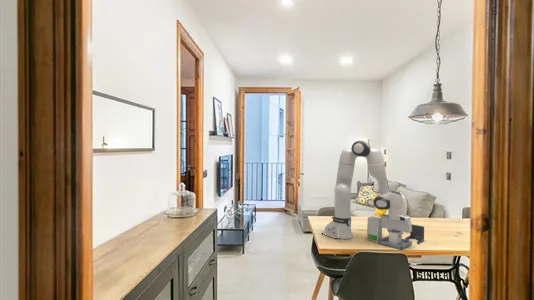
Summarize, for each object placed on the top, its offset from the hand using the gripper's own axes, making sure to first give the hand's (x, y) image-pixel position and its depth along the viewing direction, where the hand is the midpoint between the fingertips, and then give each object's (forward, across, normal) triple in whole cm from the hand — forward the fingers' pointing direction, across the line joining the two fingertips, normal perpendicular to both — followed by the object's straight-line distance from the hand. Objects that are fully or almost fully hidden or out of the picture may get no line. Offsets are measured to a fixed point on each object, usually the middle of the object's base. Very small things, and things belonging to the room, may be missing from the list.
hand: (395, 236), depth 200 cm
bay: (+5, +6, +16) cm, 18 cm away
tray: (+5, 0, 0) cm, 5 cm away
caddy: (+4, 0, 0) cm, 4 cm away
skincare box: (+5, -14, -1) cm, 15 cm away
